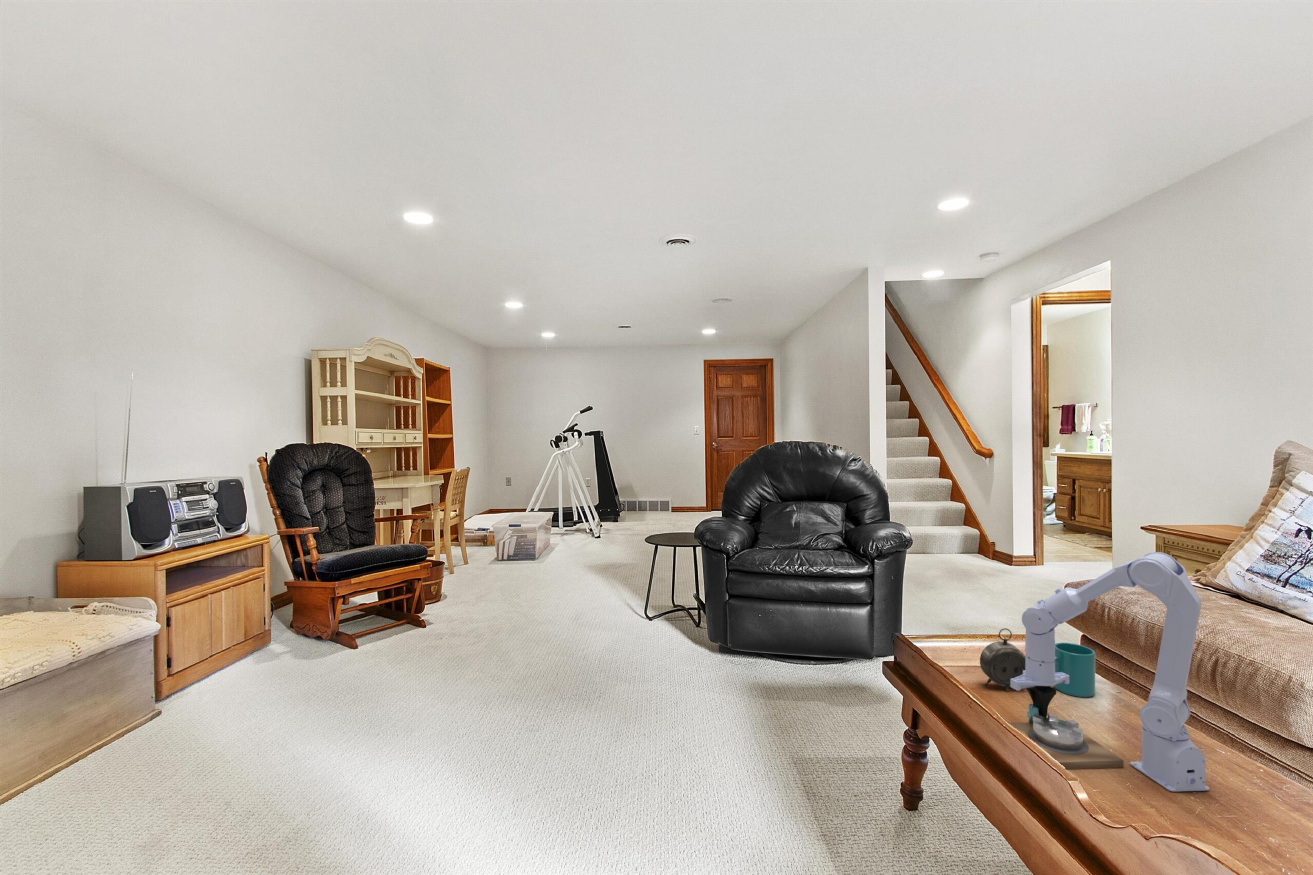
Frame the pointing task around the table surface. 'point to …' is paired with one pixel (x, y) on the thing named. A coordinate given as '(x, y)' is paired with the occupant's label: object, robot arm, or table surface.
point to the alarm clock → (1002, 662)
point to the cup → (1076, 669)
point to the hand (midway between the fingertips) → (1039, 716)
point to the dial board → (1077, 752)
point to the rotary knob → (1055, 730)
